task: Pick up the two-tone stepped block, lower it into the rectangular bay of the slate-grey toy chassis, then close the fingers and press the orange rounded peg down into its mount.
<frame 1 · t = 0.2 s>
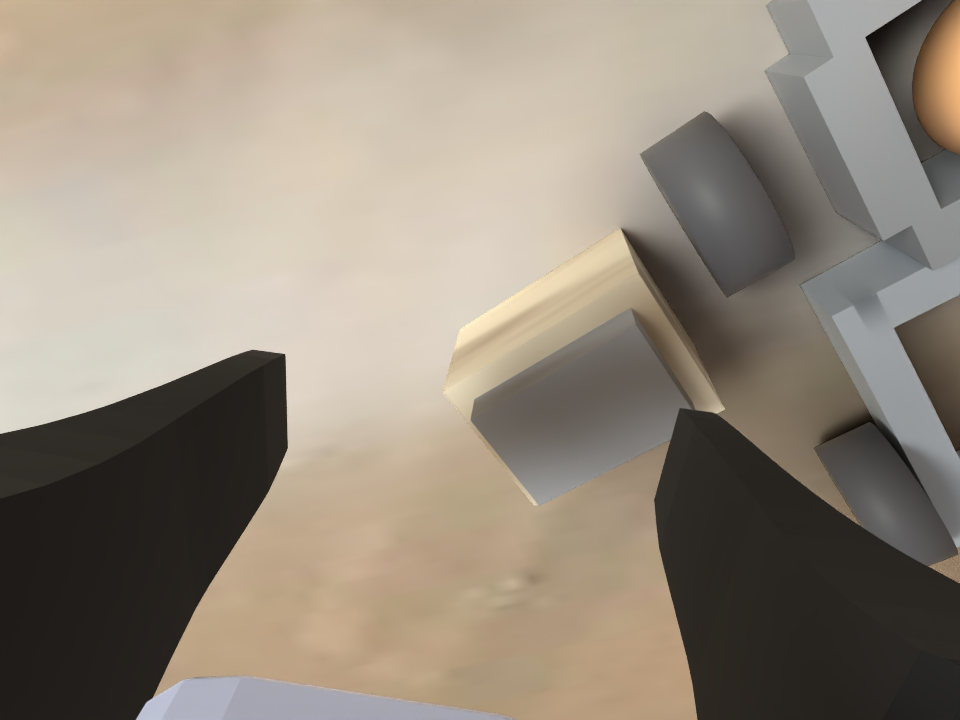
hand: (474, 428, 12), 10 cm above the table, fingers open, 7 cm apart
two-tone stepped block: (574, 334, 22), on the table
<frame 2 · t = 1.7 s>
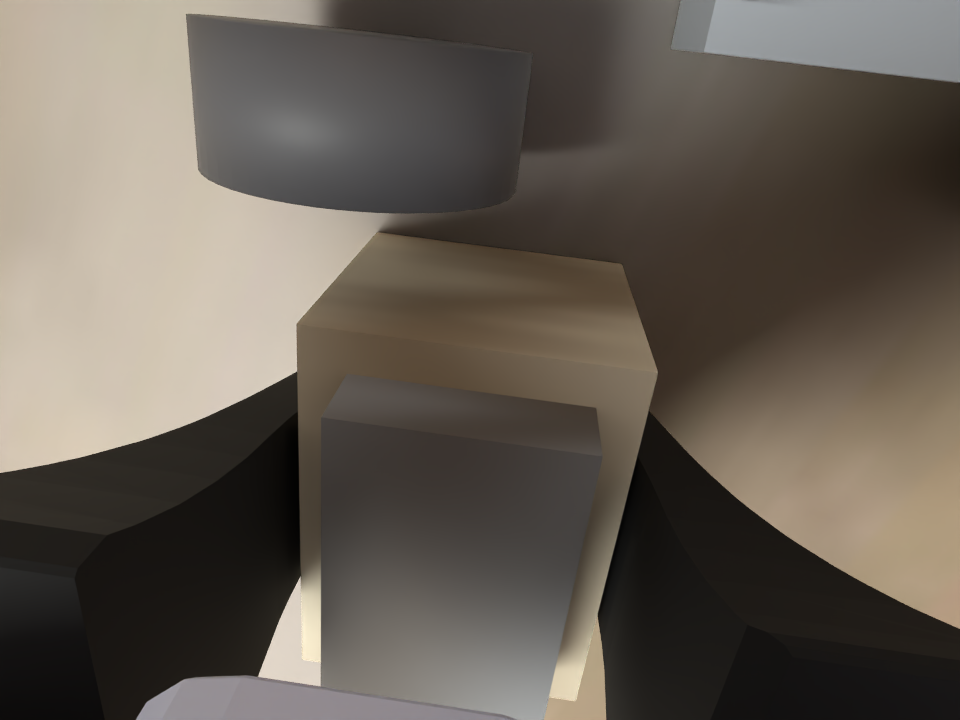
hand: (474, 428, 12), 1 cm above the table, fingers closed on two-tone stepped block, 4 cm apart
two-tone stepped block: (481, 391, 14), on the table, touching gripper
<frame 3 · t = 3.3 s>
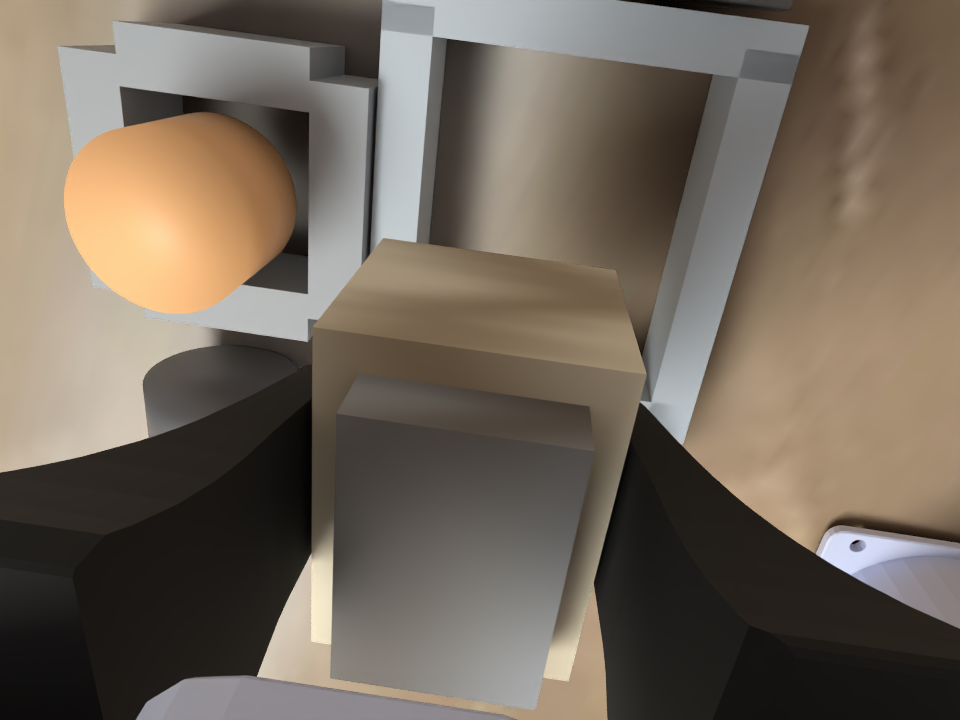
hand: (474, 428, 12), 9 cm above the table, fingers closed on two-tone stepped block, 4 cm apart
chassis: (449, 200, 19), on the table
two-tone stepped block: (480, 389, 14), point 7 cm above the table, touching gripper
orange rounded peg: (198, 205, 16), point 4 cm above the table, slide at 0.0 cm
when the fingers open (3 cm above the table, at t = 5.0 s): two-tone stepped block drops 1 cm, resting in chassis.
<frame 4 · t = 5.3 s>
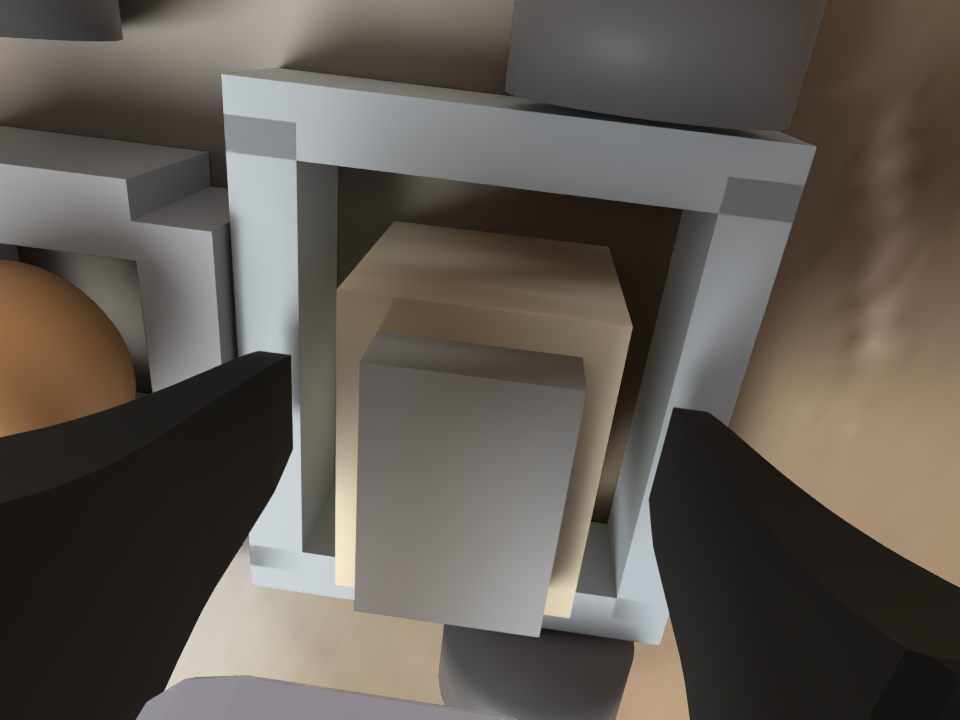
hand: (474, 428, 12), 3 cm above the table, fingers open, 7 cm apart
chassis: (357, 336, 15), on the table
two-tone stepped block: (486, 360, 15), resting in chassis
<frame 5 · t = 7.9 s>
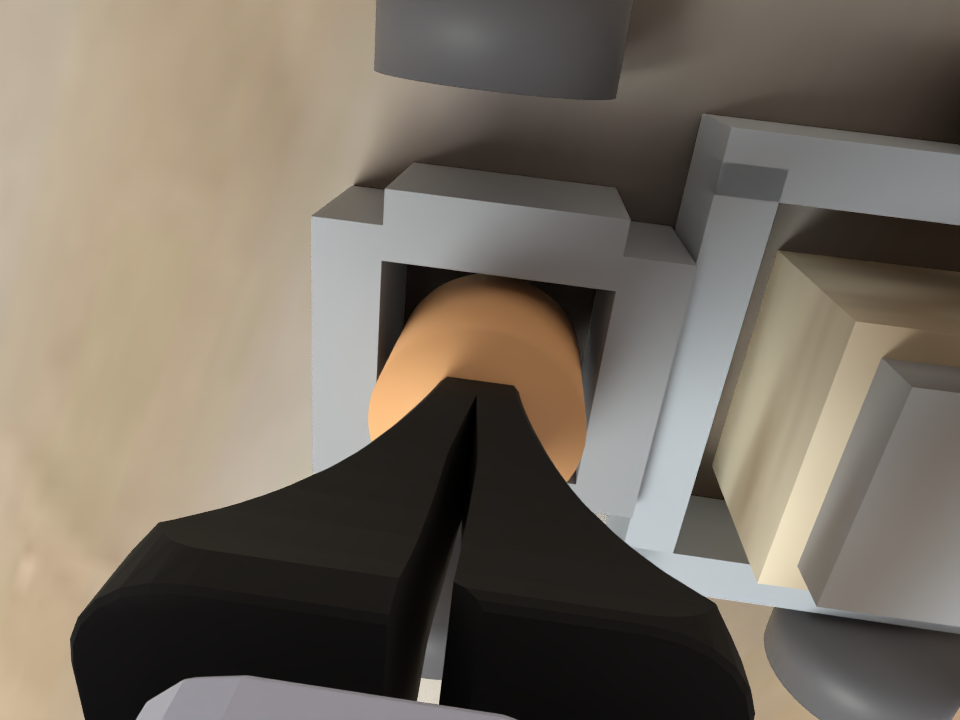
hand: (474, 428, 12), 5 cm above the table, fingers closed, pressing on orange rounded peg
chassis: (716, 354, 17), on the table
two-tone stepped block: (832, 376, 17), resting in chassis
orange rounded peg: (484, 382, 14), point 3 cm above the table, slide at 1.0 cm, touching gripper
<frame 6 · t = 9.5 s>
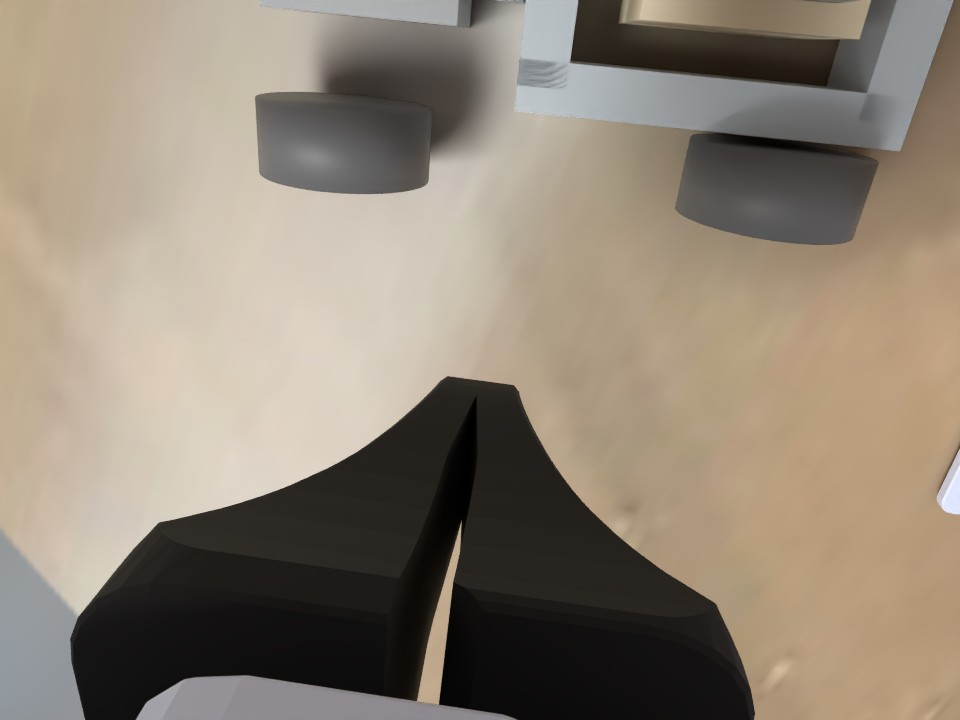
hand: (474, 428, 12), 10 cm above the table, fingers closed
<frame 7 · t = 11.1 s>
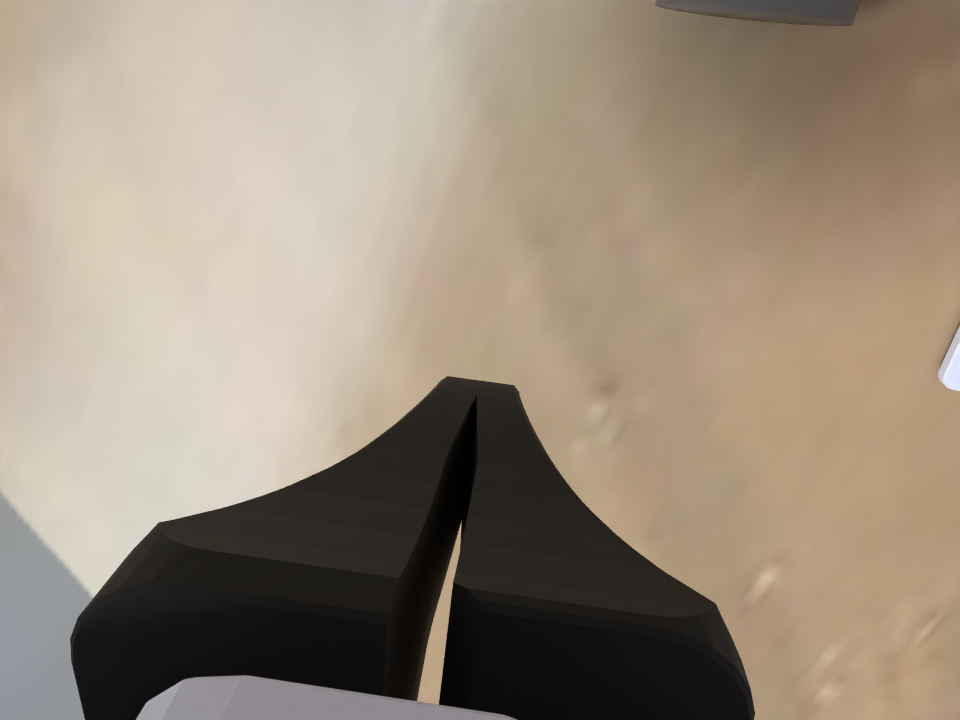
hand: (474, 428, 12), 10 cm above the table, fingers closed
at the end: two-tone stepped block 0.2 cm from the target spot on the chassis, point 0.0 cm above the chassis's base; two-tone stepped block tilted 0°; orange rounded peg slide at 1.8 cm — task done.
